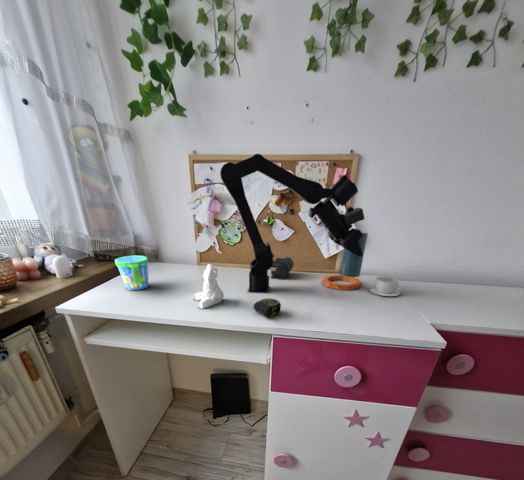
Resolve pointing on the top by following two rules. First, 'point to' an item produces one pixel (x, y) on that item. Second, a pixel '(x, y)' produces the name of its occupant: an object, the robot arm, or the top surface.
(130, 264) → the snack cup
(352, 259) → the cup
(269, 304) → the tape measure
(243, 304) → the top surface
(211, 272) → the sitting furry creature
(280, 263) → the end cap
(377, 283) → the teacup
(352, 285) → the ring
